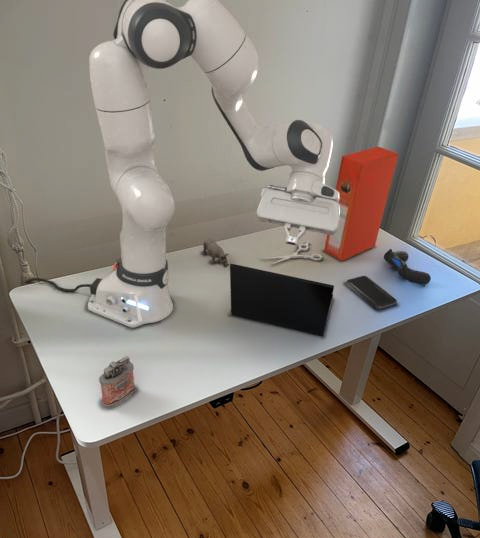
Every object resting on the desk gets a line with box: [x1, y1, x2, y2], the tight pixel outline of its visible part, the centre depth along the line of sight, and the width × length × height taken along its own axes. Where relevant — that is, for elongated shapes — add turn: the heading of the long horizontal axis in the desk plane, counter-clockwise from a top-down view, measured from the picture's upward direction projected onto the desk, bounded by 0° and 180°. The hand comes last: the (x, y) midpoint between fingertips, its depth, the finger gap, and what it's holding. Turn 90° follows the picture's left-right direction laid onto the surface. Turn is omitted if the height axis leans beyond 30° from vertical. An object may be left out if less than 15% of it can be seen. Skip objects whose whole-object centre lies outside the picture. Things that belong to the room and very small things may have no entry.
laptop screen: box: [229, 263, 335, 334], centre depth 125 cm, size 18×25×1 cm
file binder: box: [323, 146, 399, 262], centre depth 160 cm, size 8×17×32 cm, turn 131°
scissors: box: [263, 241, 323, 265], centre depth 163 cm, size 11×1×20 cm
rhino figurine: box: [201, 237, 230, 268], centre depth 155 cm, size 4×14×6 cm, turn 33°
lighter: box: [98, 355, 136, 409], centre depth 107 cm, size 8×3×10 cm, turn 138°
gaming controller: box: [383, 248, 432, 286], centre depth 158 cm, size 17×6×10 cm
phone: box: [345, 275, 398, 311], centre depth 149 cm, size 8×1×15 cm
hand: (291, 244), depth 123 cm, fingers closed
